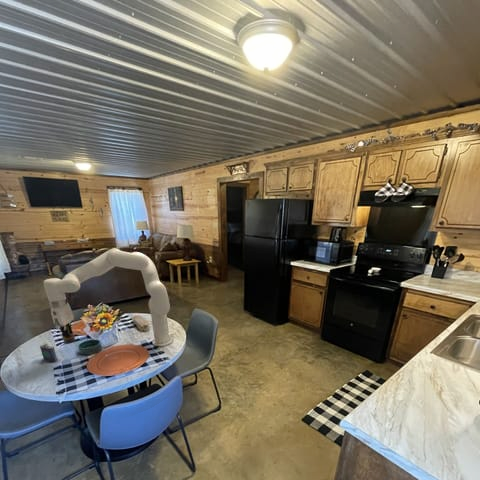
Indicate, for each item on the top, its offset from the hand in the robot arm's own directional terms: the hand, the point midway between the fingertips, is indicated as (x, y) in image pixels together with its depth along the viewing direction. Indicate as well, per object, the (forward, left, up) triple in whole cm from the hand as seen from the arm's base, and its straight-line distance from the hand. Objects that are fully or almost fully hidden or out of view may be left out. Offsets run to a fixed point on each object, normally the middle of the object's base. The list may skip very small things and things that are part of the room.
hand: (67, 334), depth 141 cm
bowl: (-14, -9, -19) cm, 25 cm away
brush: (0, 0, -4) cm, 4 cm away
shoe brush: (-55, -12, -16) cm, 59 cm away
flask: (+5, -18, -19) cm, 26 cm away
